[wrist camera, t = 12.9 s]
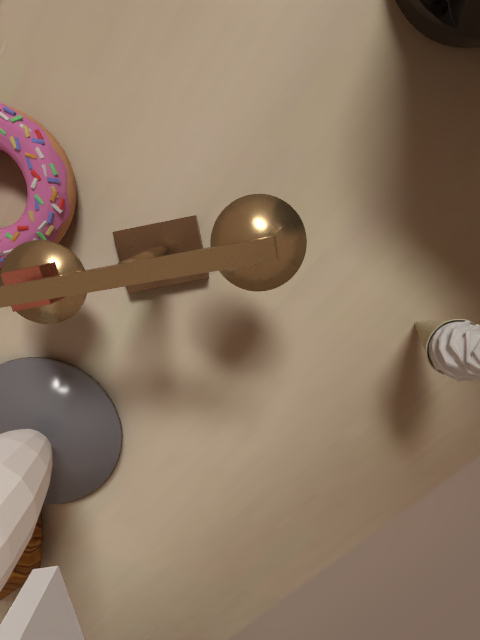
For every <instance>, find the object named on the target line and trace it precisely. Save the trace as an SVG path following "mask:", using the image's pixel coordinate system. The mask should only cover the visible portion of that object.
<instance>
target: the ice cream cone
mask: <svg viewBox="0 0 480 640" xmlns="http://www.w3.org/2000/svg"><path fill="white" fill-rule="evenodd" d="M415 327H416V330H417V332H418V335H419V337H420V339H421V342H422V344H423V347H424V349H425V352H426V356H427V359H428V362H429V364H430V365H431V366H432V367H433V368H434V369H435V370H436V371H437V372H439V373H442V374H445V375H447V376H449V377H451V378H453V379H455V380H457V381H473V380H477V379H480V325H479V324H477V325H476V324H474V323H473V322H471V321H469V320H465V319H453V320H449V321H427V322H416V323H415Z"/></svg>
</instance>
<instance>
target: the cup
mask: <svg viewBox="0 0 480 640" xmlns="http://www.w3.org/2000/svg"><path fill="white" fill-rule="evenodd" d="M52 465H53V463H52V448H51V444H50V442H49V441H48V439H47V437H45V436H44V435H43V434H42V433H40V432H39V431H36V430H32V429H18V430H13V431H8V432H5V433H2V434H0V591H1V590H2V588H3V587H4V585H5V584H6V582H7V580H8V578H9V577H10V575H11V573H12V571H13V569H14V568H15V566H16V564H17V562H18V561H19V559H20V557H21V555H22V553H23V552H24V550H25V548H26V546H27V544H28V543H29V541H30V539H31V537H32V534H33V532H34V529H35V526H36V523H37V520H38V517H39V514H40V511H41V508H42V506H43V503H44V500H45V497H46V494H47V490H48V487H49V484H50V478H51V471H52Z"/></svg>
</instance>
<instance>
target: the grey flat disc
mask: <svg viewBox="0 0 480 640" xmlns="http://www.w3.org/2000/svg"><path fill="white" fill-rule="evenodd" d="M18 429H32V430H36V431H39V432H40V433H42V434H43V435H44V436H45V437H47V439H48V441H49V442H50V444H51V448H52V463H53V465H52V471H51V478H50V484H49V487H48V490H47V494H46V497H45V500H44V503H43V504H62V503H67V502H71V501H74V500H77V499H80V498H82V497H84V496H86V495H88V494H90V493H91V492H93V491H94V490H95V489H97V488H98V487H99V486H100V485H101V484H102V483H103V482H104V481H105V480H106V479H107V478H108V476H109V475H110V474H111V472H112V470H113V469H114V467H115V465H116V463H117V460H118V458H119V455H120V451H121V446H122V427H121V422H120V418H119V415H118V412H117V409H116V407H115V405H114V404H113V402H112V400H111V398H110V397H109V395H108V394H107V393H106V391H105V390H104V389H103V388H102V387H101V386H100V385H99V383H97V382H96V381H95V380H94V379H93V378H92V377H90V376H89V375H88V374H86V373H85V372H83V371H82V370H80V369H78V368H76V367H74V366H72V365H70V364H67V363H64V362H62V361H58V360H54V359H49V358H41V357H28V358H20V359H15V360H11V361H8V362H5V363H3V364H0V434H2V433H5V432H8V431H13V430H18Z"/></svg>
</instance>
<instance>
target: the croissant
mask: <svg viewBox="0 0 480 640" xmlns="http://www.w3.org/2000/svg"><path fill="white" fill-rule="evenodd" d="M42 541H43V529H42V512H41V511H40V514H39V517H38V520H37V523H36V526H35V529H34V532H33V534H32V537H31V539H30V541H29V543H28V544H27V546H26V548H25V550H24V552H23V553H22V555H21V557H20V559H19V561H18V562H17V564H16V566H15V568H14V569H13V571H12V573H11V575H10V577H9V578H8V580H7V582H6V584H5V585H4V587H3V588H2V590H1V591H0V600H1V599H3V598H5V597H6V596H7V595H9V594H10V593H11V592H13V591H15V590H16V589H18V588H20V587H22V586H23V585H24V584H25V582H26V580H27V578H28V577H29V575H30V573H31V572H32V570H33V569H39V568H40V564H41V558H42V552H41V543H42Z"/></svg>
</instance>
